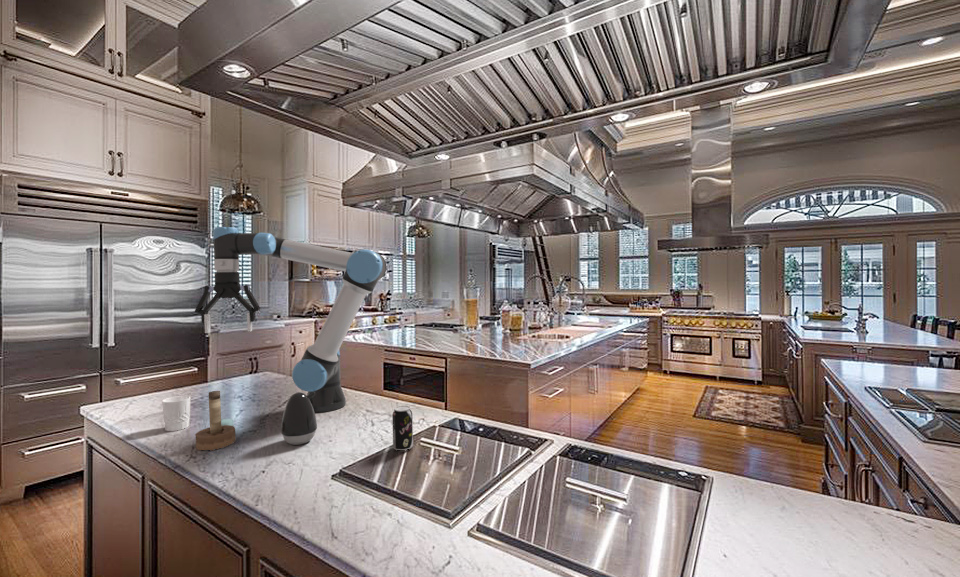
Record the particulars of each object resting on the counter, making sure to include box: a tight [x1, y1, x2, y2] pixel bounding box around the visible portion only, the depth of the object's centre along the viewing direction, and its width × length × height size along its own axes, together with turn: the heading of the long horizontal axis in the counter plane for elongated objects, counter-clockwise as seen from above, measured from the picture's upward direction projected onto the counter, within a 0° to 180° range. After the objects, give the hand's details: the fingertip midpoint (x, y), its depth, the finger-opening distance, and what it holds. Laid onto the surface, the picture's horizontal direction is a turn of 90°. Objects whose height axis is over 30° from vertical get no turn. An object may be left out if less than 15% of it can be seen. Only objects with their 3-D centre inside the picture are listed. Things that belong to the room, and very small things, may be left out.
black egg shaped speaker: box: [280, 391, 318, 446], centre depth 131 cm, size 10×10×15 cm
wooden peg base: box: [194, 425, 236, 451], centre depth 131 cm, size 10×10×4 cm
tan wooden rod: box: [208, 390, 222, 434], centre depth 131 cm, size 3×3×16 cm
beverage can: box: [391, 405, 414, 451], centre depth 125 cm, size 6×6×12 cm
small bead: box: [221, 418, 234, 426], centre depth 141 cm, size 6×6×4 cm
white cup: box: [161, 395, 191, 432], centre depth 146 cm, size 8×8×10 cm
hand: (229, 332), depth 151 cm, fingers open, 13 cm apart
